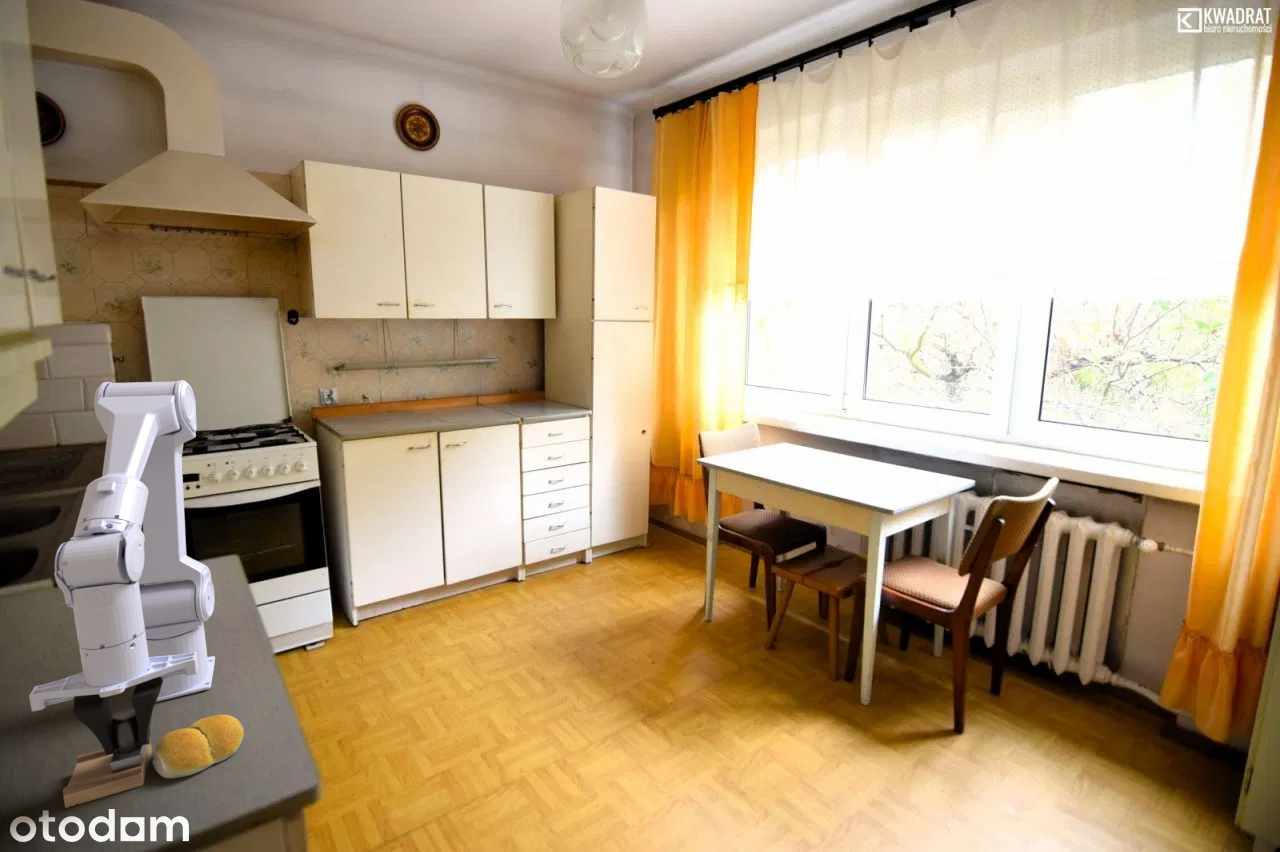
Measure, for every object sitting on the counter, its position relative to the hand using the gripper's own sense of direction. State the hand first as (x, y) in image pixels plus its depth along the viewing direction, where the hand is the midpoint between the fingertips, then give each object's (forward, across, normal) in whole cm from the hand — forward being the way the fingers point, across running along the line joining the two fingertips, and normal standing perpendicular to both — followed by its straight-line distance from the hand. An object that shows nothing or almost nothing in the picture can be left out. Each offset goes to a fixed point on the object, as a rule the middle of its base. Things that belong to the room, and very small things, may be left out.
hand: (128, 744), depth 72 cm
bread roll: (+4, +6, 0) cm, 8 cm away
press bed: (+4, -2, 0) cm, 4 cm away
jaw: (+2, 0, 0) cm, 2 cm away
